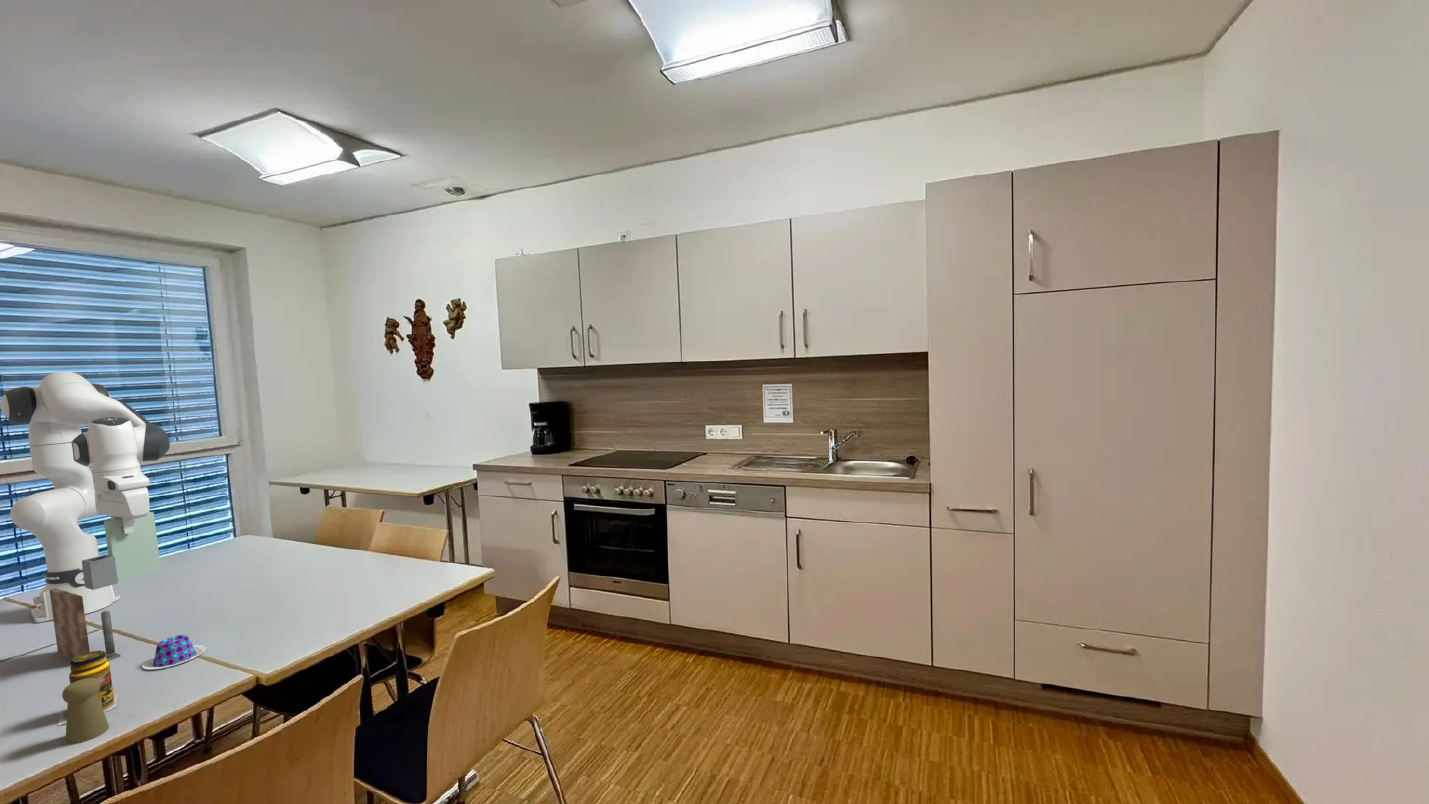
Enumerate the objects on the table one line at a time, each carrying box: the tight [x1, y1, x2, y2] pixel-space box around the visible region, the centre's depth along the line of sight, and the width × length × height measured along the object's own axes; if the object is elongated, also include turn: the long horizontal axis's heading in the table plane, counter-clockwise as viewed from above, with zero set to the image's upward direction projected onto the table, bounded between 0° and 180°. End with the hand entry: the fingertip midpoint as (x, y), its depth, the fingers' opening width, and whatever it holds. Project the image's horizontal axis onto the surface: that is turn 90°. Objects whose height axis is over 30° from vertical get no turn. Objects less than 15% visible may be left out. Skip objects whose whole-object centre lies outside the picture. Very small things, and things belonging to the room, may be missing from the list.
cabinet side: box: [49, 588, 121, 662], centre depth 152 cm, size 20×5×17 cm, turn 64°
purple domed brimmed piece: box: [141, 634, 207, 670], centre depth 148 cm, size 12×12×5 cm
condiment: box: [57, 650, 118, 727], centre depth 126 cm, size 7×8×12 cm
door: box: [82, 511, 162, 590], centre depth 152 cm, size 5×14×16 cm, turn 154°
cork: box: [61, 678, 110, 745], centre depth 117 cm, size 6×6×11 cm
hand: (124, 532), depth 153 cm, fingers closed on door, 2 cm apart
